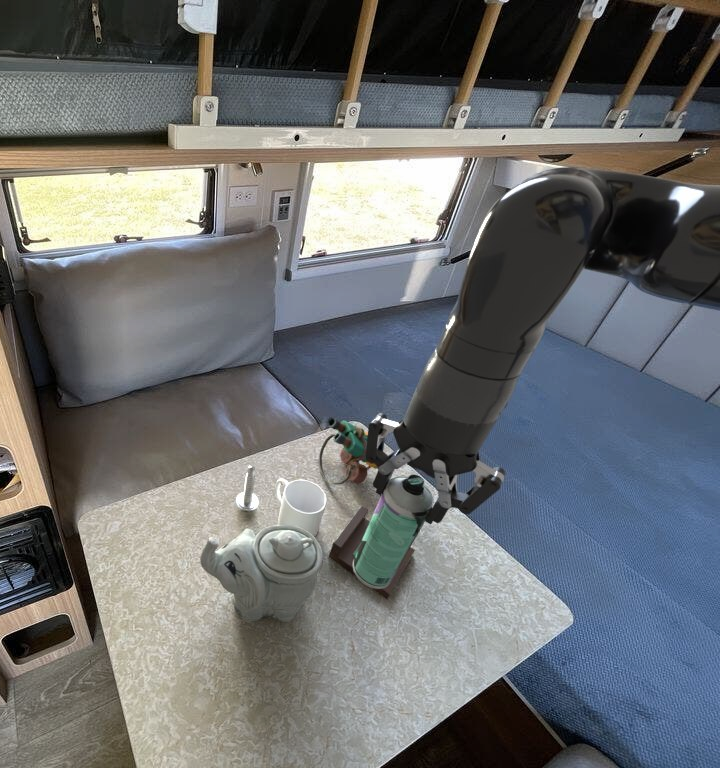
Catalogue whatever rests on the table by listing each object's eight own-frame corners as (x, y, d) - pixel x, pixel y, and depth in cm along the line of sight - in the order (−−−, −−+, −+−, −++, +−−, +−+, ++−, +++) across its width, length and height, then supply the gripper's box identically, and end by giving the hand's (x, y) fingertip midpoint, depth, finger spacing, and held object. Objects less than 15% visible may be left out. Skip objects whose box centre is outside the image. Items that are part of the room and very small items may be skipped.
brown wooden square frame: (411, 555, 80) (420, 541, 77) (386, 600, 73) (395, 586, 70) (356, 519, 87) (361, 504, 84) (328, 557, 79) (333, 542, 77)
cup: (296, 551, 80) (304, 521, 74) (258, 508, 88) (263, 478, 82) (325, 532, 84) (335, 501, 78) (286, 492, 92) (293, 462, 86)
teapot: (196, 597, 73) (197, 536, 61) (244, 539, 82) (253, 478, 71) (273, 665, 64) (291, 610, 53) (318, 592, 74) (340, 533, 63)
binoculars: (349, 503, 94) (399, 467, 86) (303, 482, 90) (352, 441, 82) (335, 459, 105) (378, 423, 98) (293, 437, 101) (335, 398, 93)
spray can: (399, 575, 58) (451, 484, 47) (376, 596, 56) (425, 507, 44) (367, 546, 62) (409, 455, 50) (344, 565, 59) (382, 474, 48)
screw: (231, 503, 89) (249, 494, 91) (243, 519, 86) (261, 510, 88) (235, 463, 81) (254, 454, 83) (248, 479, 78) (268, 470, 80)
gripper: (372, 383, 41) (337, 490, 51) (536, 453, 34) (458, 562, 44) (400, 355, 46) (363, 458, 56) (550, 411, 38) (476, 519, 48)
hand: (405, 503), depth 50 cm, fingers closed on spray can, 5 cm apart
